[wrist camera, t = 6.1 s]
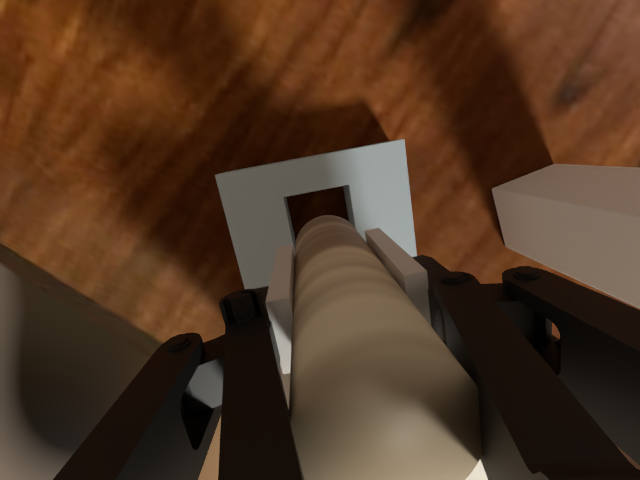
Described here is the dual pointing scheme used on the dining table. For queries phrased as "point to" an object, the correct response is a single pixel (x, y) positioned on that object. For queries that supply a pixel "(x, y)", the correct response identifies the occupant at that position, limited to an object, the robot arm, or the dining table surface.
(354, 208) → the socket block
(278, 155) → the dining table surface
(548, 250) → the milk
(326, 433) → the birch peg
